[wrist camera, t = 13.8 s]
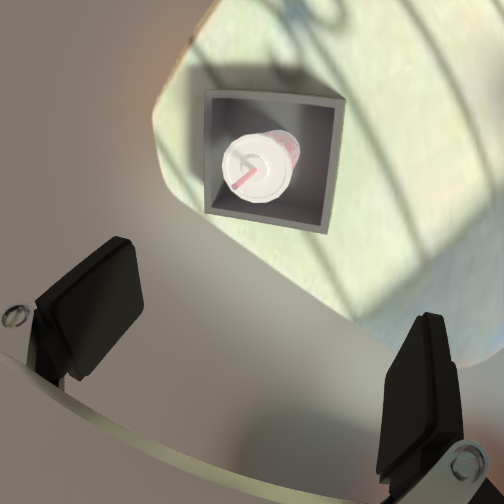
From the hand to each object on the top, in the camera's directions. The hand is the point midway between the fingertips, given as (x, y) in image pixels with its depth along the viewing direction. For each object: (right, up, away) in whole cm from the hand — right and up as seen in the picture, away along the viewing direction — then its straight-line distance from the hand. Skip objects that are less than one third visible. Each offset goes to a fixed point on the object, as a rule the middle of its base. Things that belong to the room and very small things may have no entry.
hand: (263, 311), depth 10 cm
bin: (+3, +13, +25) cm, 29 cm away
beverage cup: (+3, +13, +25) cm, 28 cm away
